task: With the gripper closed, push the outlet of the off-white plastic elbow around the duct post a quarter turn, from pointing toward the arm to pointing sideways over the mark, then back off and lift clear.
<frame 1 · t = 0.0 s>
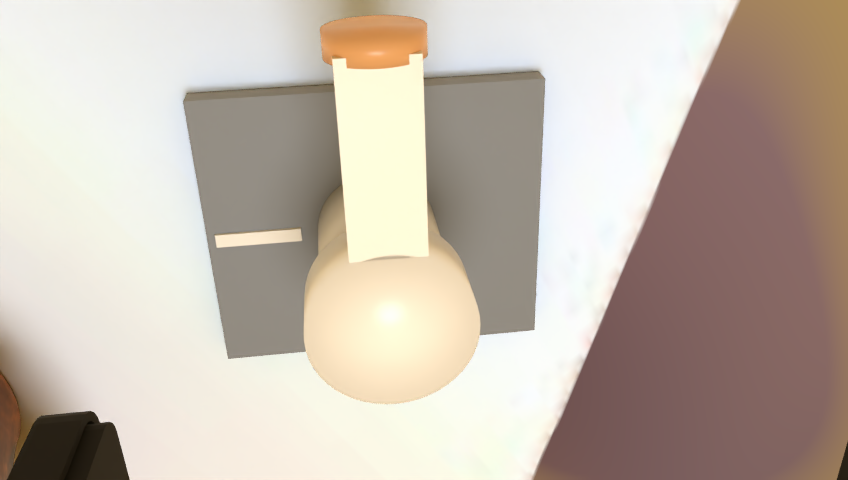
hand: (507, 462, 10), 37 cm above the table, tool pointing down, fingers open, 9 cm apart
elbow: (384, 224, 37), point 11 cm above the table, hinge at 0.0°
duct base: (375, 216, 49), on the table
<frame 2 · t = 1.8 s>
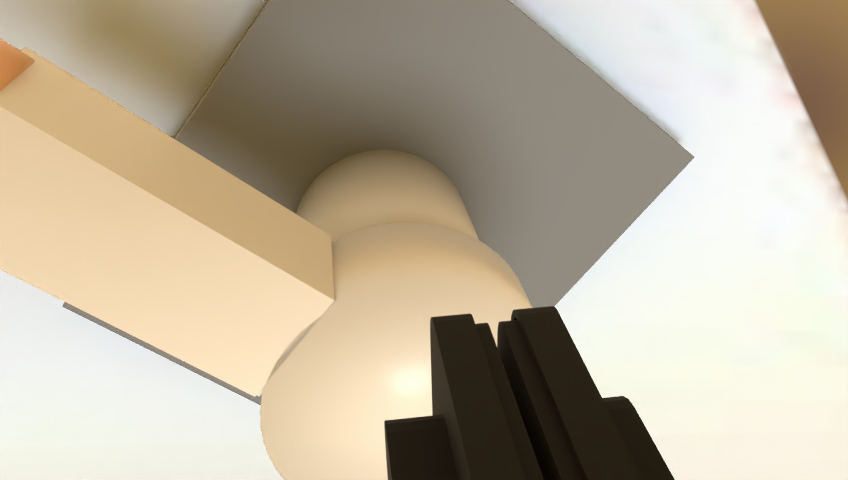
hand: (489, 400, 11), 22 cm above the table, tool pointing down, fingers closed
elbow: (267, 296, 22), point 11 cm above the table, hinge at 0.0°
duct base: (378, 215, 33), on the table
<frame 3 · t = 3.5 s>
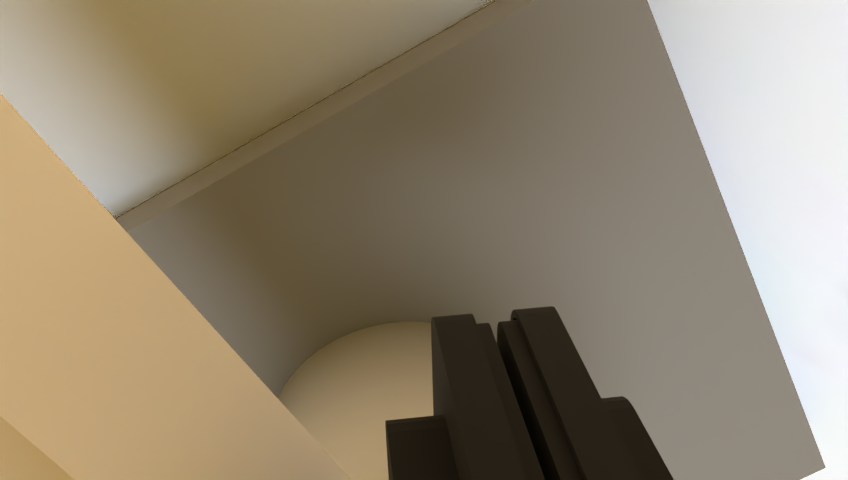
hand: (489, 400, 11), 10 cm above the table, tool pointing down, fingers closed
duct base: (397, 396, 23), on the table
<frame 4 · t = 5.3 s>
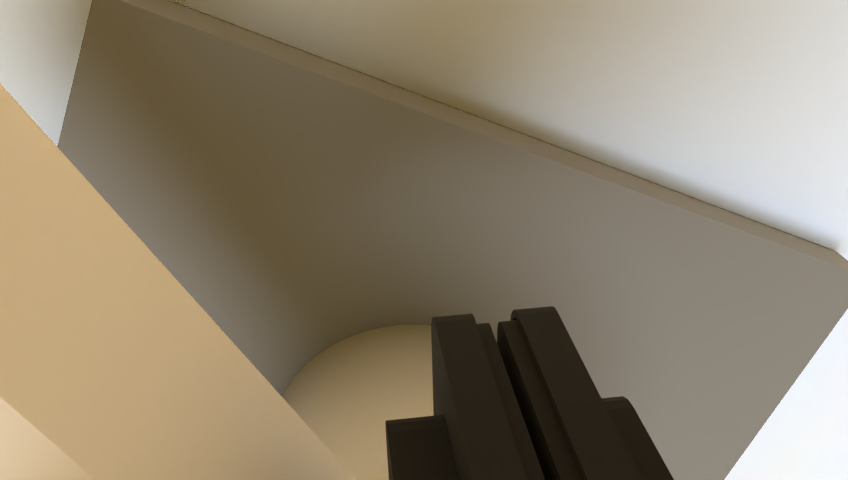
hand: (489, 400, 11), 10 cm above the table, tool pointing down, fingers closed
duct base: (398, 398, 23), on the table
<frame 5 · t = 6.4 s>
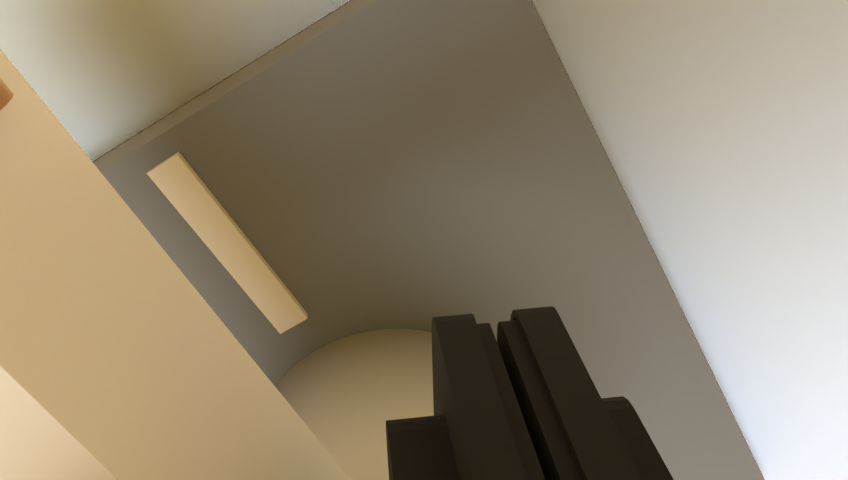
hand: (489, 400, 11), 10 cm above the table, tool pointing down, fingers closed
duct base: (383, 402, 23), on the table
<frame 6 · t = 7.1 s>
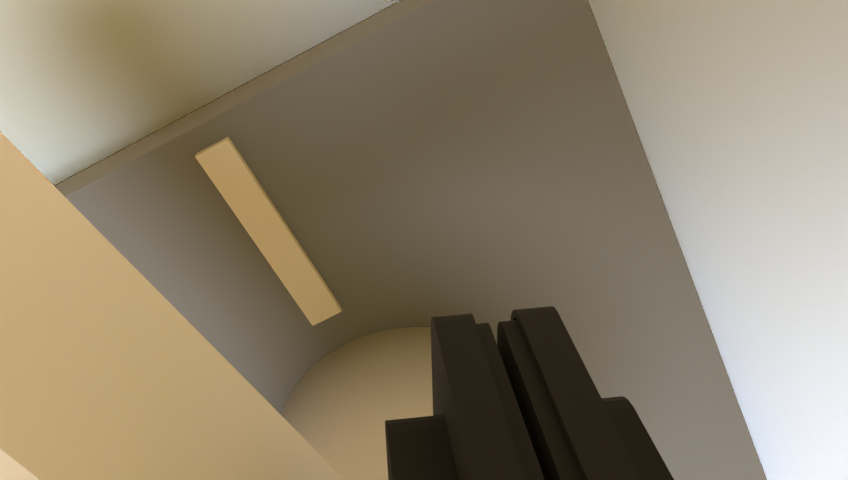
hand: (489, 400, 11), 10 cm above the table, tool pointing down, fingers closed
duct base: (403, 400, 23), on the table
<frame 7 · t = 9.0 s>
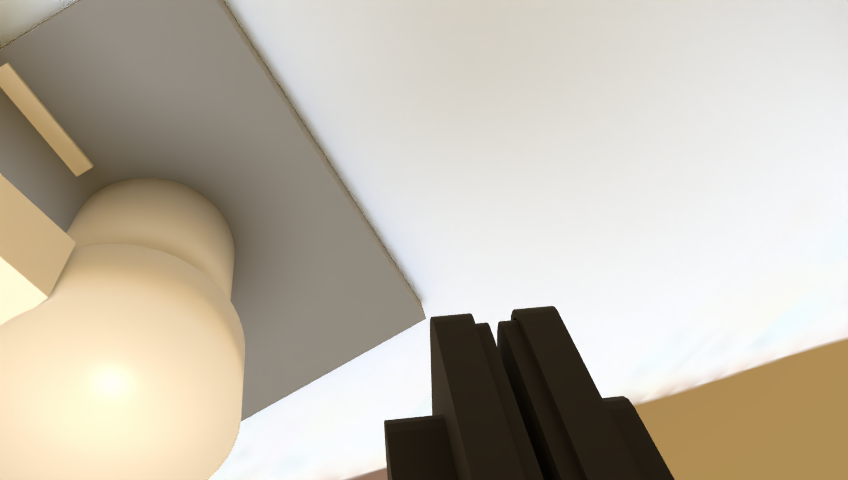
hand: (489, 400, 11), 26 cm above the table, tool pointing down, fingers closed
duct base: (157, 236, 36), on the table
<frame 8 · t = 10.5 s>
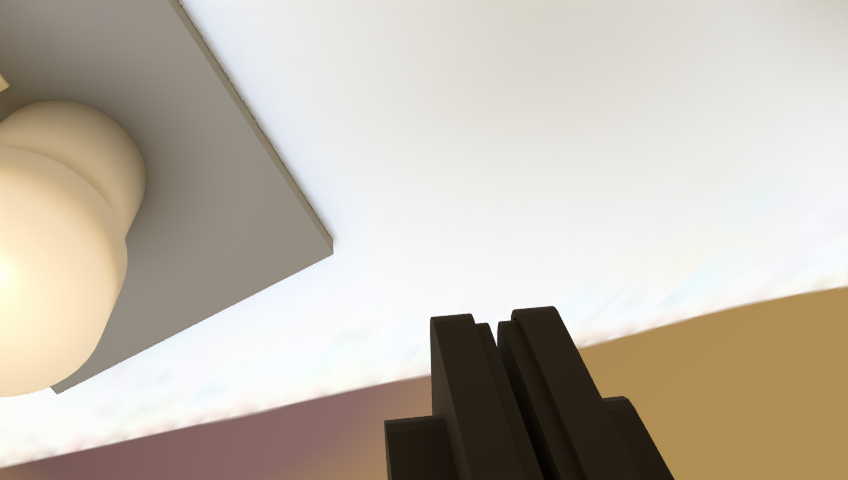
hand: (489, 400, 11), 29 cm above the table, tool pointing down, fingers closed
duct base: (77, 160, 38), on the table
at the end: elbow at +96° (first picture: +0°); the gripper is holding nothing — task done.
